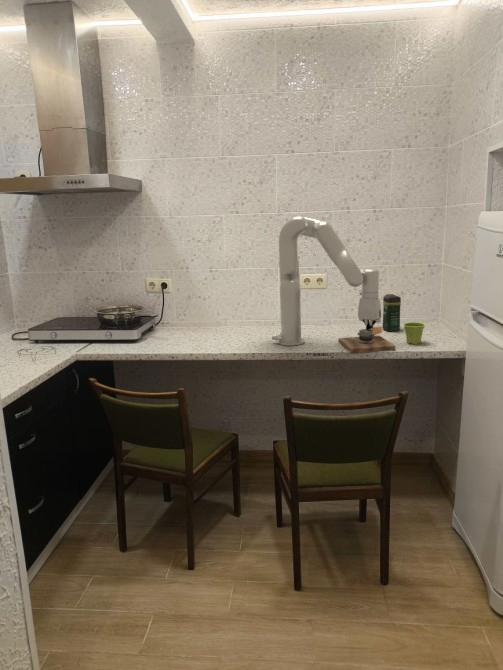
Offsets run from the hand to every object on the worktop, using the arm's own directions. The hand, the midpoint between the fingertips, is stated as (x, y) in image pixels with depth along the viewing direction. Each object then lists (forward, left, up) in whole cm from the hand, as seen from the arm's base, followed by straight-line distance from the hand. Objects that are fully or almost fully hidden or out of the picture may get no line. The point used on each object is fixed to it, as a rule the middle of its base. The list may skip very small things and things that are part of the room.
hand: (369, 333), depth 229 cm
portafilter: (-1, -5, 0) cm, 5 cm away
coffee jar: (+18, +19, -4) cm, 27 cm away
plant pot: (+18, -8, -4) cm, 20 cm away
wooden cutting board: (-5, -8, -4) cm, 10 cm away
